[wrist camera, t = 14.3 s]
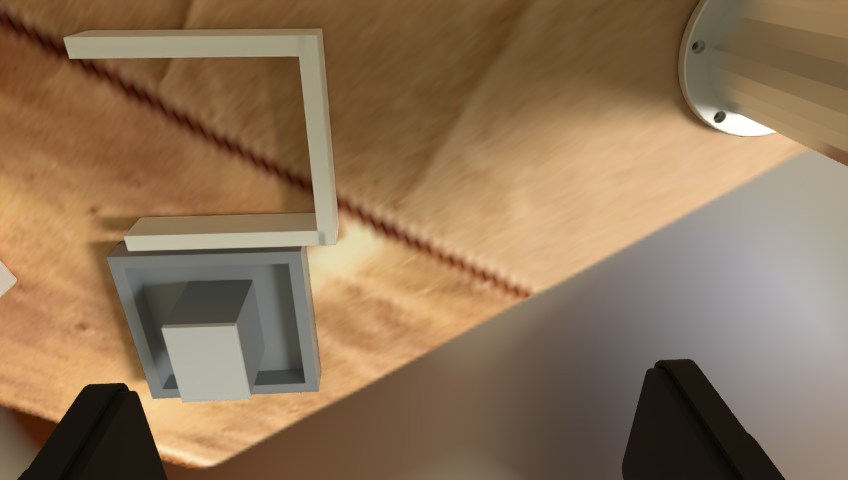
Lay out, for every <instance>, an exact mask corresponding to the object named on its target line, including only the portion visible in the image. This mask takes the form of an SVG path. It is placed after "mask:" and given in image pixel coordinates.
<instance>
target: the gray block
mask: <svg viewBox="0 0 848 480" xmlns="http://www.w3.org/2000/svg"><path fill="white" fill-rule="evenodd" d="M161 329H162V333H163V336H164V340H165V343H166V347H167V350H168V354H169V357H170V361H171V364H172V368H173V371H174V375H175V378H176V382H177V385H178V389H179V392H180V396H181V399H182V402H202V401H227V400H250V396H251V393H252V390H253V386H254V383H255V380H256V376H257V373H258V370H259V367H260V363H261V360H262V357H263V353H264V350H265V345H264V339H263V333H262V327H261V322H260V316H259V310H258V304H257V299H256V293H255V287H254V281H253V280H217V281H189V282H188V284H187V286H186V287H185V289H184V291H183V292H182V294H181V296H180V298H179V299H178V301H177V303H176V304H175V306H174V308H173V309H172V311H171V313H170V315H169V316H168V318H167V320H166V321H165V323H164V325H163V327H162V328H161Z"/></svg>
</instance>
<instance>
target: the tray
mask: <svg viewBox="0 0 848 480" xmlns="http://www.w3.org/2000/svg"><path fill="white" fill-rule="evenodd" d="M106 258H107V261H108V264H109V267H110V270H111V273H112V276H113V279H114V282H115V285H116V288H117V292H118V295H119V298H120V301H121V304H122V307H123V310H124V313H125V316H126V319H127V322H128V325H129V328H130V331H131V334H132V337H133V340H134V343H135V346H136V349H137V352H138V355H139V358H140V361H141V364H142V367H143V370H144V374H145V377H146V380H147V383H148V386H149V389H150V392H151V395H152V398H153V399H159V398H181V396H180V392H179V389H178V385H177V382H176V378H175V375H174V371H173V368H172V364H171V361H170V357H169V354H168V350H167V347H166V343H165V340H164V336H163V333H162V329H161V328H162V327H163V325H164V323H165V321H166V320H167V318H168V316H169V315H170V313H171V311H172V309H173V308H174V306H175V304H176V303H177V301H178V299H179V298H180V296H181V294H182V292H183V291H184V289H185V287H186V286H187V284H188V282H189V281H217V280H253V281H254V287H255V293H256V299H257V304H258V310H259V316H260V322H261V327H262V333H263V339H264V345H265V350H264V353H263V357H262V360H261V363H260V367H259V370H258V373H257V376H256V380H255V383H254V386H253V390H252V393H251V394H272V393H295V392H318V391H319V384H320V378H321V365H320V357H319V349H318V341H317V332H316V324H315V316H314V307H313V299H312V291H311V283H310V274H309V266H308V258H307V249H306V246H284V247H251V248H217V249H183V250H149V251H128V249H127V246H126V242H125V241H120V243H119V244H118V245H117V246H116V247H115V248H114V249H113V250H112V252H111V253H110V254H109V255H108V256H107V257H106Z"/></svg>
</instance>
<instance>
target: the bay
mask: <svg viewBox="0 0 848 480" xmlns="http://www.w3.org/2000/svg"><path fill="white" fill-rule="evenodd" d="M63 39H64V42H65V45H66V49H67V52H68V55H69V59H95V58H188V57H282V56H299V62H300V71H301V81H302V90H303V99H304V109H305V118H306V127H307V137H308V146H309V155H310V165H311V174H312V183H313V193H314V202H315V211H316V213H288V214H250V215H212V216H173V217H141V218H140V219H139V220H138V221H137V222H136V223H135V224H134V225H133V226H132V228H131V229H130V230H129V231H128V232H127V233H126V234H125V235H124V239H125V242H126V246H127V249H128V251H149V250H183V249H217V248H251V247H284V246H318V245H336V241H337V235H338V229H339V221H338V209H337V197H336V186H335V174H334V162H333V150H332V139H331V127H330V115H329V103H328V92H327V80H326V68H325V56H324V45H323V33H322V28H314V29H188V30H87V31H84V32H80V33H77V34H73V35H70V36H66V37H63Z"/></svg>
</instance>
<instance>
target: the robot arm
mask: <svg viewBox="0 0 848 480" xmlns="http://www.w3.org/2000/svg"><path fill="white" fill-rule="evenodd" d="M694 43H695V46H694V47H693V48H692V46H693V44H694ZM678 72H679V82H680V86H681V89H682V92H683V96H684V99H685V100H686V102H687V104H688V105H689V107H690V108H691V110H692V112H693V113H694V114H696V115H697V116H698V117H699V118H700V119H701V120H702V121H703V122H704V123H706V124H708V125H709V126H711V127H713V128H714V129H717V130H719V131H721V132H724V133H726V134H729V135H735V136H740V137H758V136H763V135H768V134H773V133H779V134H781V135H783V136H785V137H788V138H790V139H792V140H794V141H796V142H798V143H800V144H802V145H804V146H806V147H808V148H810V149H813V150H815V151H817V152H819V153H821V154H823V155H825V156H827V157H829V158H831V159H833V160H835V161H837V162H840V163H842V164H844V165H846V166H848V0H700V1H699V3H698V5H697V6H696V8H695V9H694V11H693V13H692V15H691V17H690V19H689V22H688V24H687V26H686V29H685V31H684V35H683V38H682V42H681V46H680V50H679V62H678ZM622 474H623V479H624V480H785V478H784V477H783V476H782V474H781V473H780V472H779V470H778V469H777V468H776V467H775V465H774V464H773V463H772V461H771V460H770V459H769V457H768V456H767V454H766V453H765V452H764V450H763V449H762V448H761V446H760V445H759V444H758V442H757V441H756V440H755V439H754V438H753V437H752V436H751V435H750V434H748V433H747V432H746V430H745V429H744V428H743V426H742V425H741V424H740V423H739V421H738V420H737V418H736V417H735V416H734V414H733V413H732V412H731V410H730V409H729V407H728V406H727V405H726V403H725V402H724V401H723V399H722V398H721V397H720V396H719V394H718V393H717V391H716V390H715V389H714V387H713V386H712V385H711V383H710V382H709V380H708V379H707V378H706V376H705V375H704V374H703V373H702V371H701V370H700V368H699V367H698V366H697V364H696V363H695V362H694V361H692V360H690V359H679V360H659V361H658V362H656V364H655V366H654V368H651V369H648V370H647V372H646V375H645V379H644V382H643V386H642V390H641V394H640V398H639V402H638V405H637V410H636V413H635V417H634V421H633V425H632V429H631V432H630V436H629V440H628V444H627V447H626V451H625V455H624V459H623V463H622ZM17 480H167V477H166V474H165V471H164V468H163V465H162V462H161V459H160V456H159V453H158V451H157V448H156V445H155V442H154V439H153V436H152V433H151V430H150V427H149V424H148V422H147V419H146V416H145V413H144V410H143V407H142V404H141V401H140V398H139V396H138V394H137V392H135V391H129V389H128V387H127V385H125V384H124V383H110V384H89V385H87V386H85V387H84V388H83V389H82V391H81V392H80V393H79V395H78V396H77V398H76V399H75V401H74V402H73V404H72V405H71V406H70V408H69V409H68V411H67V412H66V414H65V415H64V417H63V418H62V420H61V421H60V423H59V424H58V425H57V427H56V429H55V430H54V432H53V433H52V434H51V436H50V437H49V439H48V440H47V442H46V443H45V445H44V446H43V447H42V449H41V450H40V452H39V453H38V455H37V456H36V458H35V459H34V461H33V462H32V463H31V465H30V466H29V468H28V469H27V470H25V471H24V472H23V473H22V475H21V476H20V477H19V478H18V479H17Z"/></svg>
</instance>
